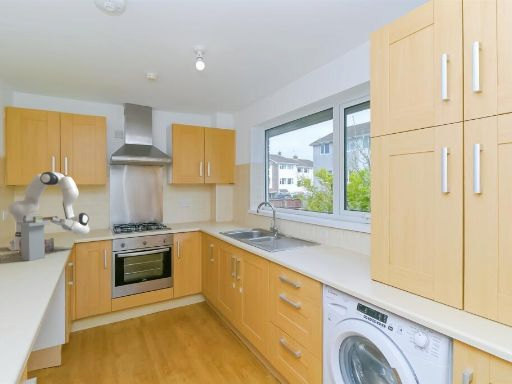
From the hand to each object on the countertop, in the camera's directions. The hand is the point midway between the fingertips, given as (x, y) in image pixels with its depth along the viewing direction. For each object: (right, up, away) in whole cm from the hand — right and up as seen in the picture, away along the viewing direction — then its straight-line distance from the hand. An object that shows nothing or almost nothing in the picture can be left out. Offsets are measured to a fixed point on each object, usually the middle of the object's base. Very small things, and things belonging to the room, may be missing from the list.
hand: (51, 217), depth 208 cm
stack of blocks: (-17, -28, +9) cm, 34 cm away
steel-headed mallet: (-3, -2, -5) cm, 6 cm away
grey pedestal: (-6, -28, -9) cm, 30 cm away
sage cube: (0, -2, -13) cm, 13 cm away
